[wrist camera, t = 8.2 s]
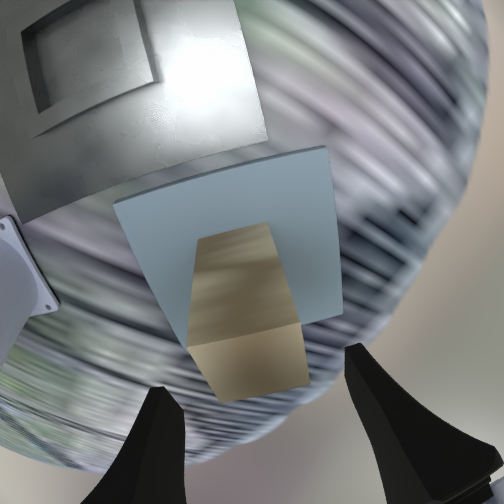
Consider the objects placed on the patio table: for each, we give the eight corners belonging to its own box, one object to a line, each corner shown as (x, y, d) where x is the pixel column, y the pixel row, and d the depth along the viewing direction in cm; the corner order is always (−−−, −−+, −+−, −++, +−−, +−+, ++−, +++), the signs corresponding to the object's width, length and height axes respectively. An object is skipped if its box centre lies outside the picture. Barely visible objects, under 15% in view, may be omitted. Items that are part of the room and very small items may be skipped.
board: (185, 344, 22) (184, 350, 21) (115, 200, 16) (112, 204, 15) (340, 308, 21) (343, 313, 21) (323, 145, 15) (327, 147, 15)
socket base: (26, 220, 15) (10, 235, 14) (-26, 19, 7) (-44, 18, 5) (266, 138, 15) (273, 145, 13) (201, -96, 7) (199, -114, 5)
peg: (217, 293, 19) (220, 402, 12) (197, 239, 17) (186, 347, 10) (279, 278, 19) (310, 384, 12) (267, 221, 17) (300, 321, 10)
